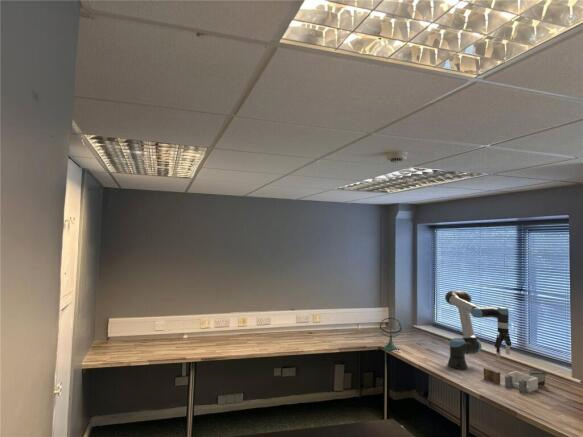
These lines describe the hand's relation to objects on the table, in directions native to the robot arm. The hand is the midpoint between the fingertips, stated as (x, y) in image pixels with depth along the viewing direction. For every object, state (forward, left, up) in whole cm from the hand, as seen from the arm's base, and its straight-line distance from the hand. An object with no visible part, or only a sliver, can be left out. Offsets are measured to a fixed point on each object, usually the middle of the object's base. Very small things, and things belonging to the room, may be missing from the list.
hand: (503, 355), depth 285 cm
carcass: (+13, -1, -20) cm, 23 cm away
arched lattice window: (+15, +17, -20) cm, 30 cm away
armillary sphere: (-104, -14, -20) cm, 107 cm away
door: (-5, -7, -20) cm, 22 cm away
